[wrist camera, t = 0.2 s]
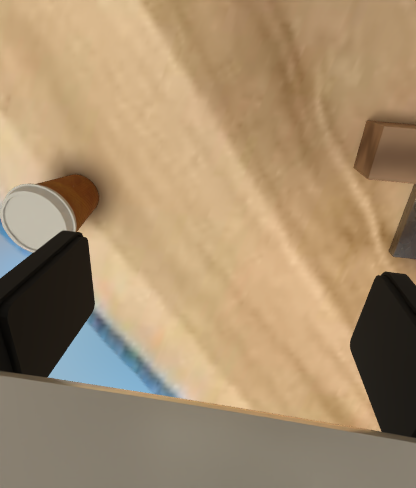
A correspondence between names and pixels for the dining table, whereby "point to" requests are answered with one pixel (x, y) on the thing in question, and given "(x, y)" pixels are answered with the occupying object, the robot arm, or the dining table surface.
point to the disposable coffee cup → (47, 209)
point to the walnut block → (388, 152)
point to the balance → (406, 231)
